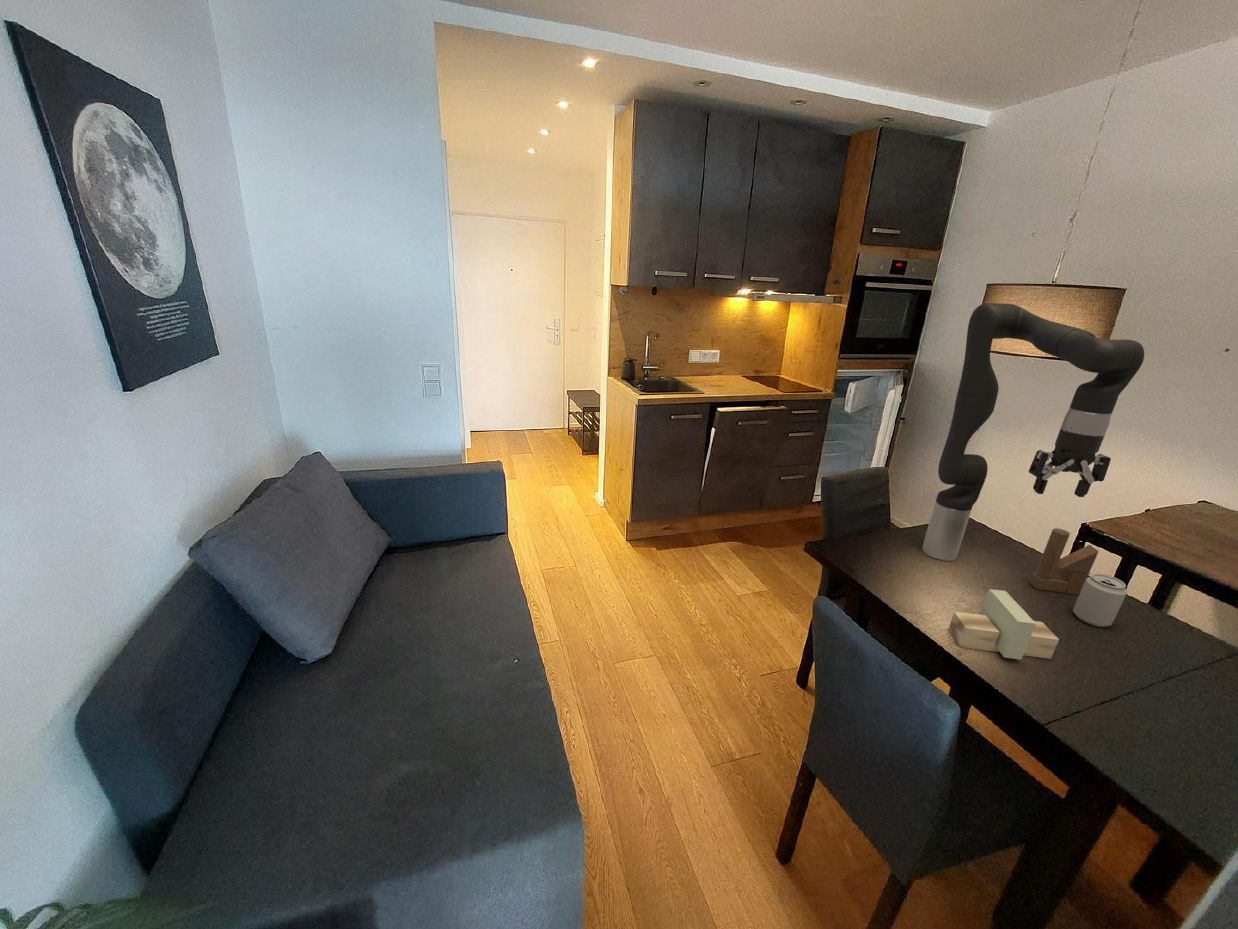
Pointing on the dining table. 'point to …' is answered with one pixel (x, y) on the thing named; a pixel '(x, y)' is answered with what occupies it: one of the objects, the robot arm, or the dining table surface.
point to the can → (1100, 600)
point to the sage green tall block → (1008, 623)
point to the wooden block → (1063, 566)
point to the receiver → (984, 635)
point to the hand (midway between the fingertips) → (1058, 494)
